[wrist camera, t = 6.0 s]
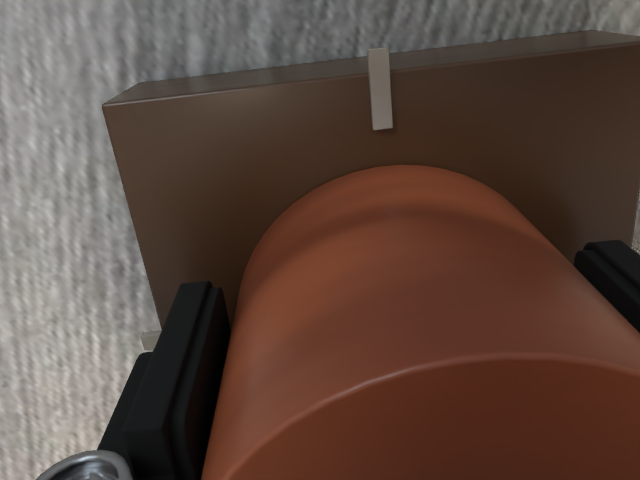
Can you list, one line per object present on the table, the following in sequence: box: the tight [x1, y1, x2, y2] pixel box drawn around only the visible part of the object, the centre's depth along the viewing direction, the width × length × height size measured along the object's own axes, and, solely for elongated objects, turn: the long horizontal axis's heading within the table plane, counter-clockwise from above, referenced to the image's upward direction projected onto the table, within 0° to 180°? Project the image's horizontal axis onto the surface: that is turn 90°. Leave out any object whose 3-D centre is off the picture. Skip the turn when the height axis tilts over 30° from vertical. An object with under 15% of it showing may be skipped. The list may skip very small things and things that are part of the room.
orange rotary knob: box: [201, 165, 640, 480], centre depth 9 cm, size 7×7×6 cm
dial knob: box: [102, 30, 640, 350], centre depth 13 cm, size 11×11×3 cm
